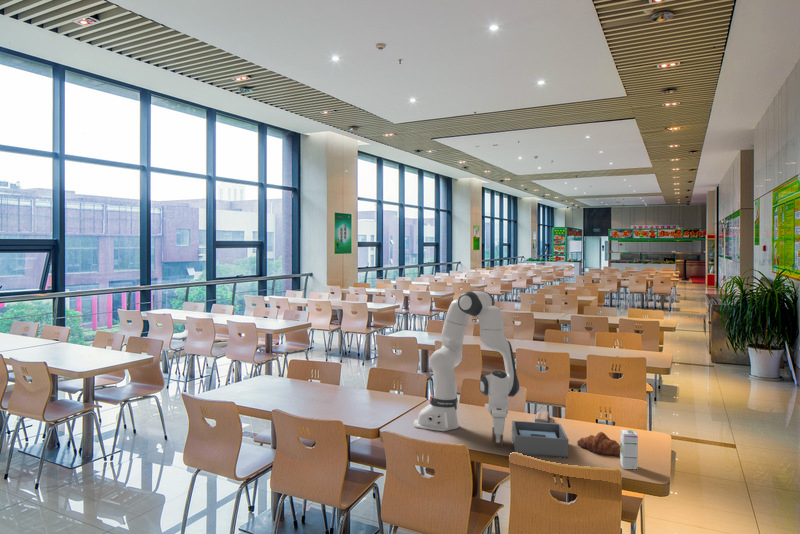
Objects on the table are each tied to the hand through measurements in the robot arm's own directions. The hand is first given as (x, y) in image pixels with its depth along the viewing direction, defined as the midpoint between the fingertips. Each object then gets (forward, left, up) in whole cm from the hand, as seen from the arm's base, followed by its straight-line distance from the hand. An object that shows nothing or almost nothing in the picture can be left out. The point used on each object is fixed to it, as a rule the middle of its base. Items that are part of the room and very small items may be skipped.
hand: (497, 438), depth 242 cm
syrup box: (+52, -16, -3) cm, 55 cm away
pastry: (+46, +2, -3) cm, 46 cm away
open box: (+18, 0, -3) cm, 18 cm away
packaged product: (+25, +38, -3) cm, 46 cm away
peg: (0, 0, -3) cm, 3 cm away
